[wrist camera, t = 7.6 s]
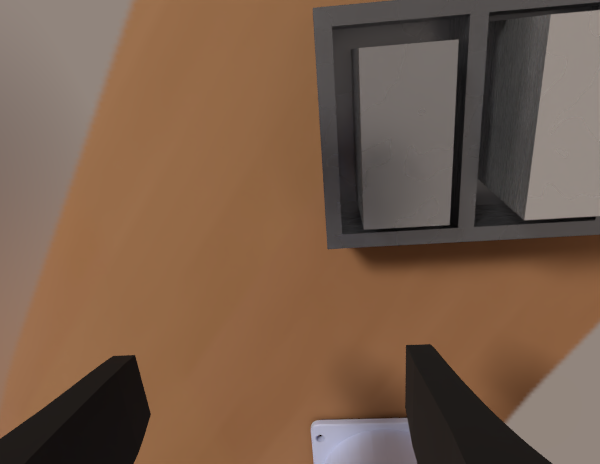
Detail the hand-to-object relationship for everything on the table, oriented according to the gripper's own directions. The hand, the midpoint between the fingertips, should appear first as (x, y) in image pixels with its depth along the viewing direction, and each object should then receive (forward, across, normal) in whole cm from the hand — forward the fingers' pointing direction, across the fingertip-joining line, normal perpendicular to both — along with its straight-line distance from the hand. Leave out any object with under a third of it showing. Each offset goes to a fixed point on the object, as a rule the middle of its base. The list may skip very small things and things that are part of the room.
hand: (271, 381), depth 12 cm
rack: (+10, -7, -5) cm, 13 cm away
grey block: (+9, -10, -6) cm, 14 cm away
